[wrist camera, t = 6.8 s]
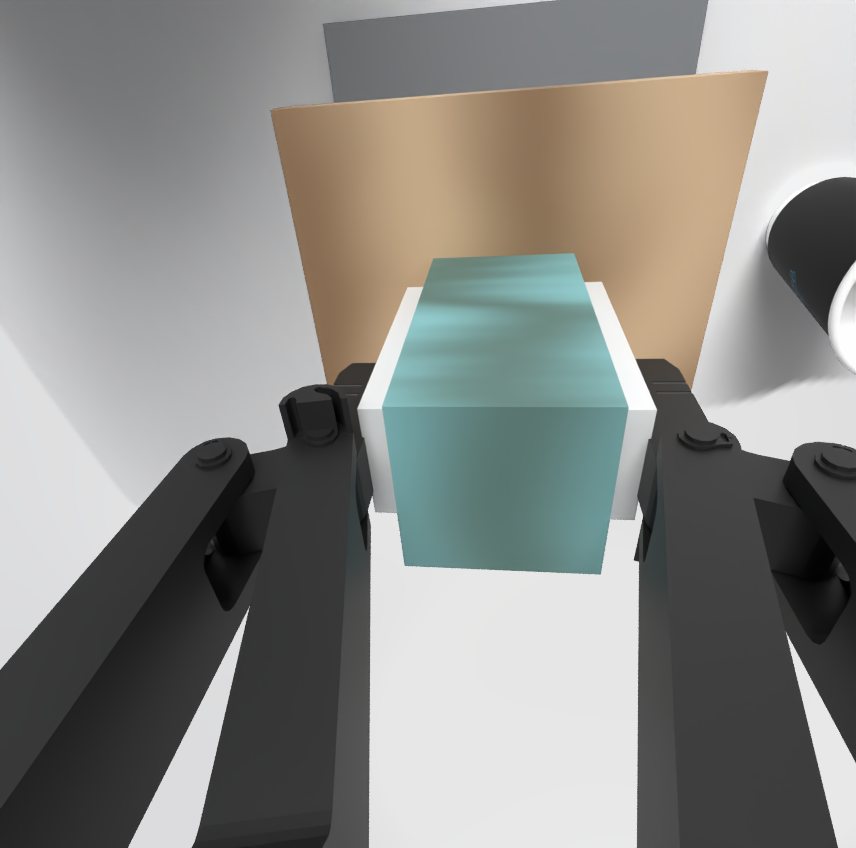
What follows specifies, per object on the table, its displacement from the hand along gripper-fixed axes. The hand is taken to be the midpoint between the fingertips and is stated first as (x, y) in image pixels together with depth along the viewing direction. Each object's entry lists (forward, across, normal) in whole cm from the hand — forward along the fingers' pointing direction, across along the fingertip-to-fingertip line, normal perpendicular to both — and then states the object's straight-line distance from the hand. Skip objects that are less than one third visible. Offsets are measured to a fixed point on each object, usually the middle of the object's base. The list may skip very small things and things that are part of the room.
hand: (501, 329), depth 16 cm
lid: (+2, 0, 0) cm, 2 cm away
